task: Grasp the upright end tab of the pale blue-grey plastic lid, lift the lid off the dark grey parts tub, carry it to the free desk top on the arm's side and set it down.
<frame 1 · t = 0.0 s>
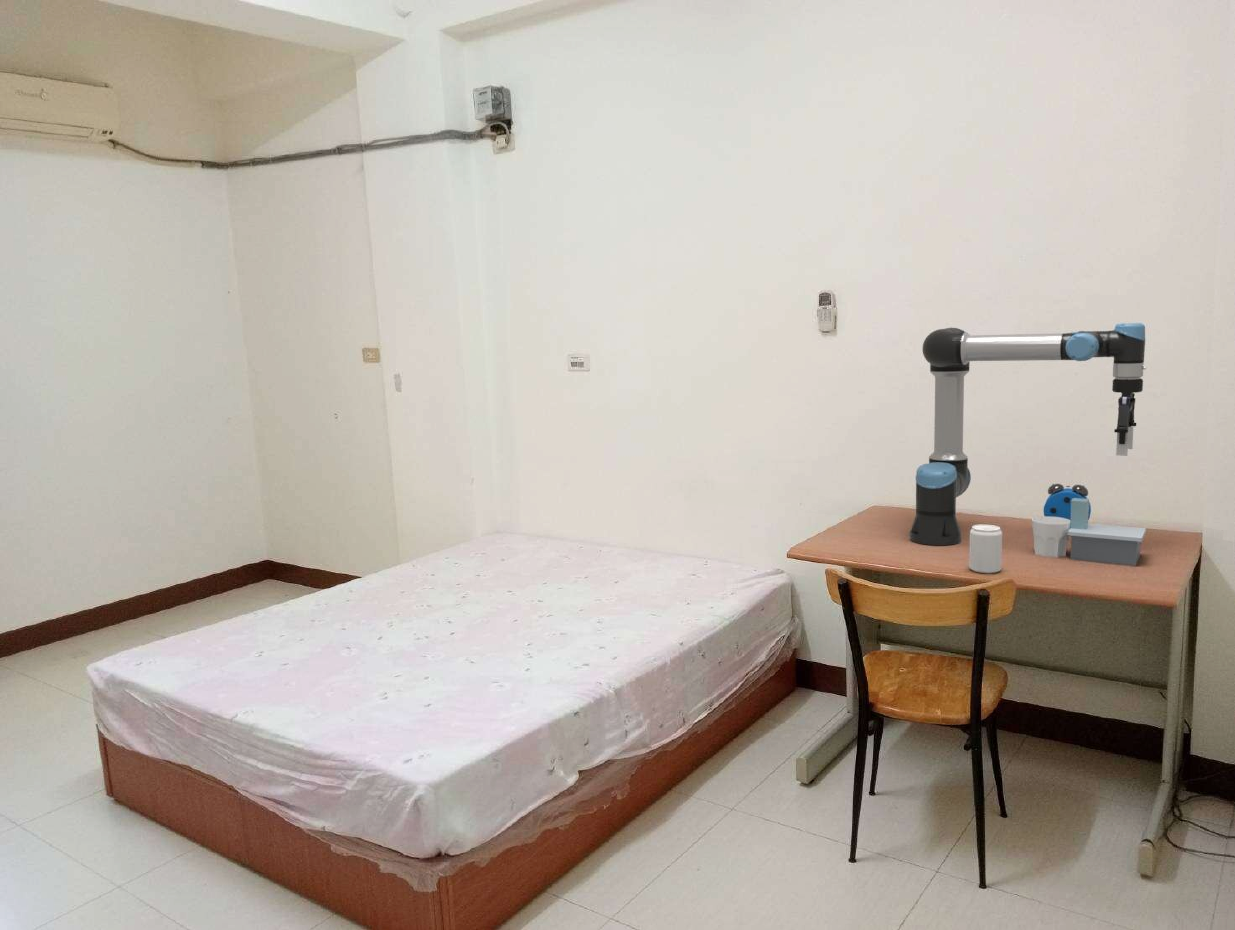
hand: (1124, 452, 260), 28 cm above the table, fingers open, 13 cm apart
alarm clock: (1066, 531, 285), on the table
cup: (1049, 554, 260), on the table
tub: (1105, 557, 254), on the table
lid: (1106, 533, 253), point 7 cm above the table, touching tub
beverage can: (985, 570, 247), on the table
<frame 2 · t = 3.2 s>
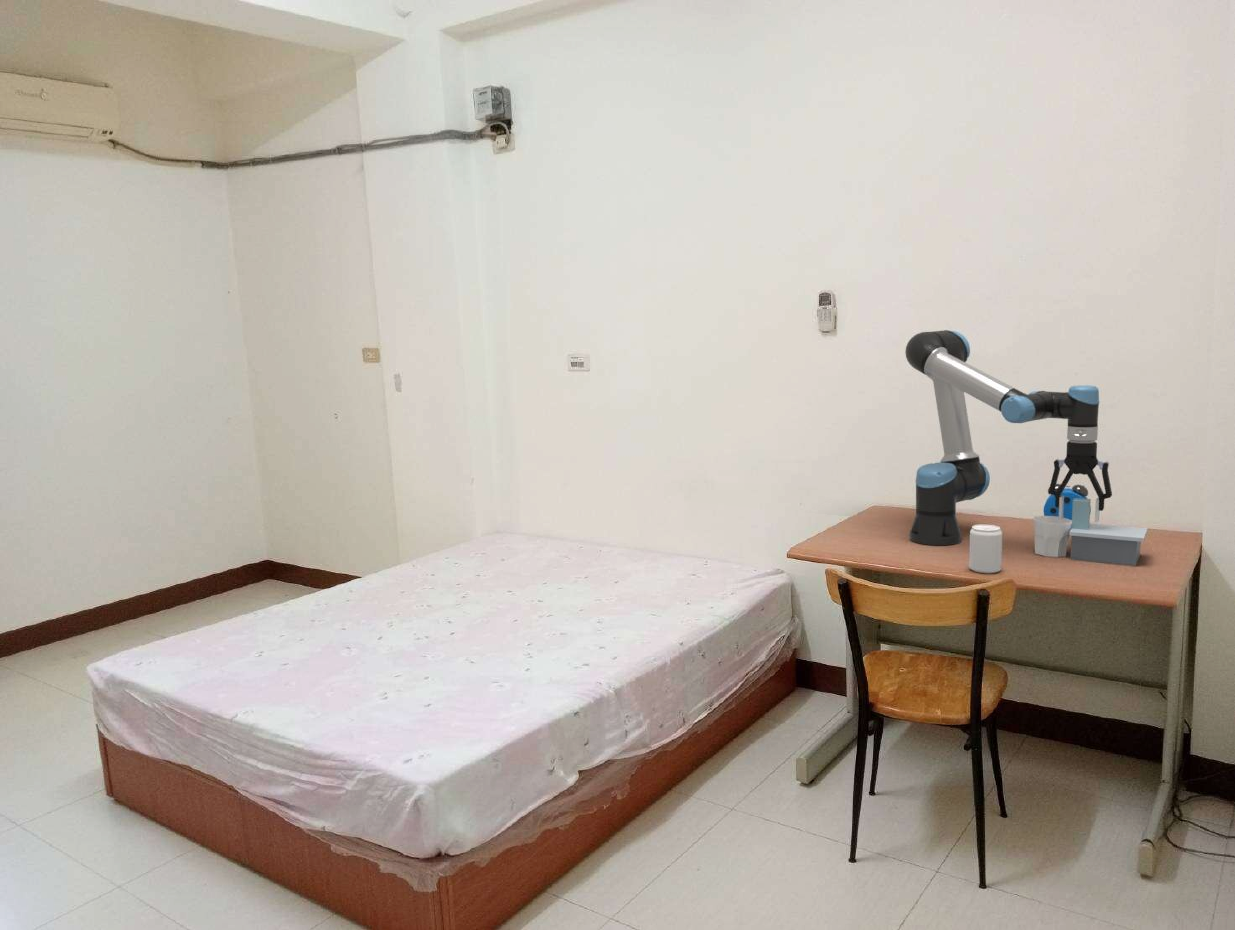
hand: (1078, 520, 256), 10 cm above the table, fingers open, 8 cm apart
cup: (1049, 554, 260), on the table, touching gripper, lid
lid: (1108, 533, 252), point 7 cm above the table, touching cup, tub
everything else where it was.
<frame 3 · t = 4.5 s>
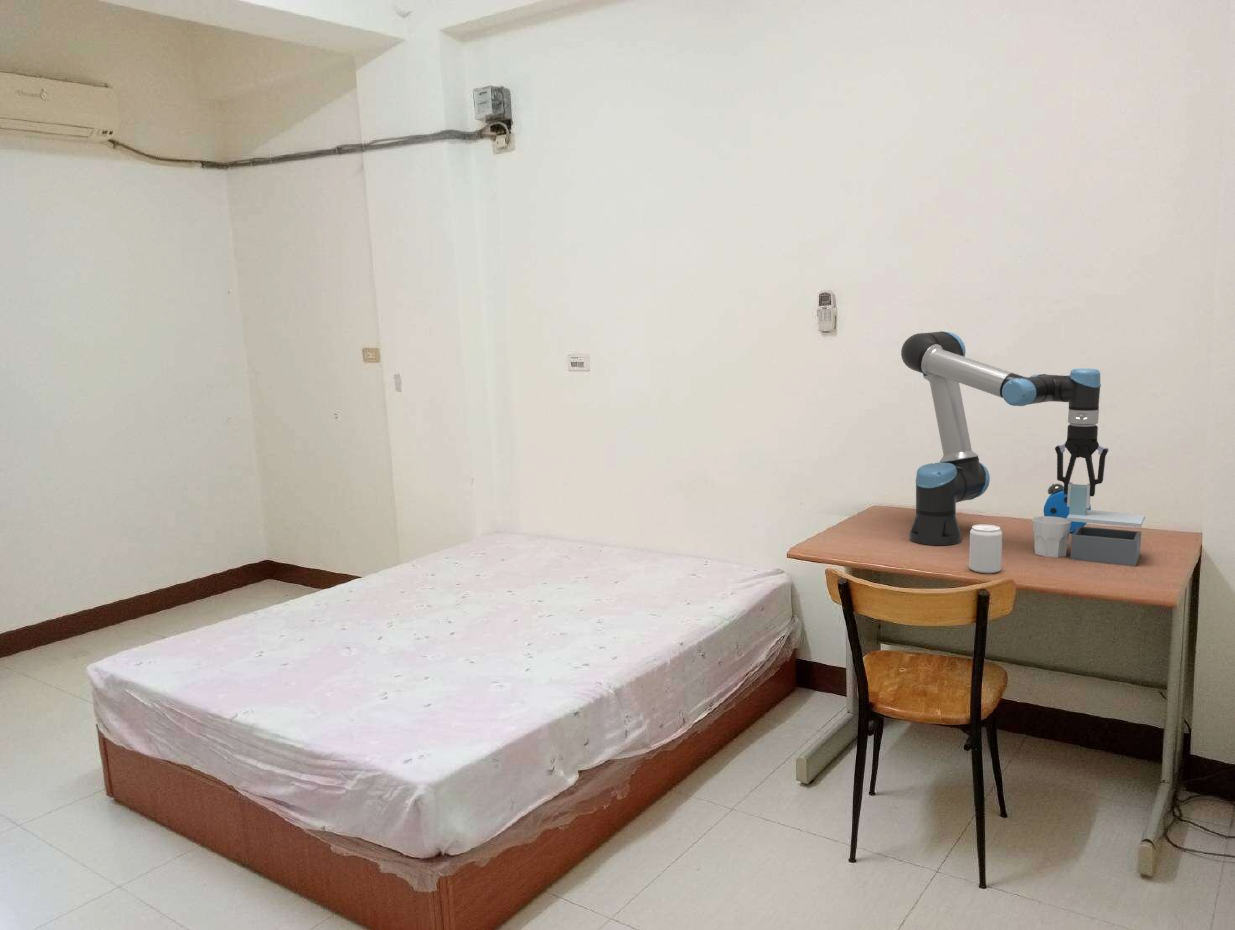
hand: (1078, 506, 256), 14 cm above the table, fingers closed on lid, 4 cm apart
cup: (1049, 554, 260), on the table
lid: (1105, 519, 252), point 11 cm above the table, touching gripper
everything else where it was.
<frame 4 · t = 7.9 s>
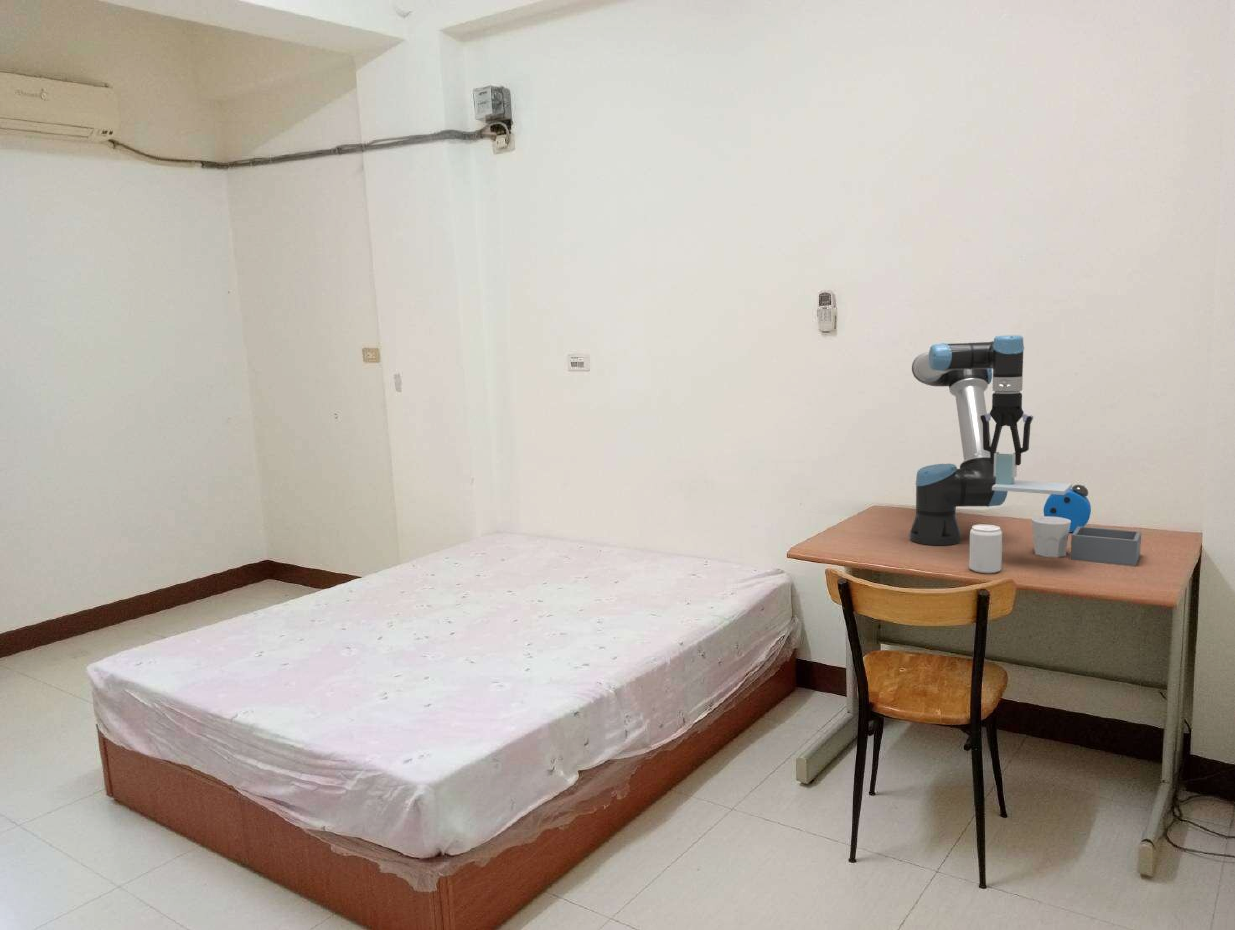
hand: (1005, 476, 251), 24 cm above the table, fingers closed on lid, 4 cm apart
lid: (1031, 488, 248), point 21 cm above the table, touching gripper
everything else where it was.
when the fingers open (4 cm above the table, at t = 11.4 s): lid drops 1 cm, on the table.
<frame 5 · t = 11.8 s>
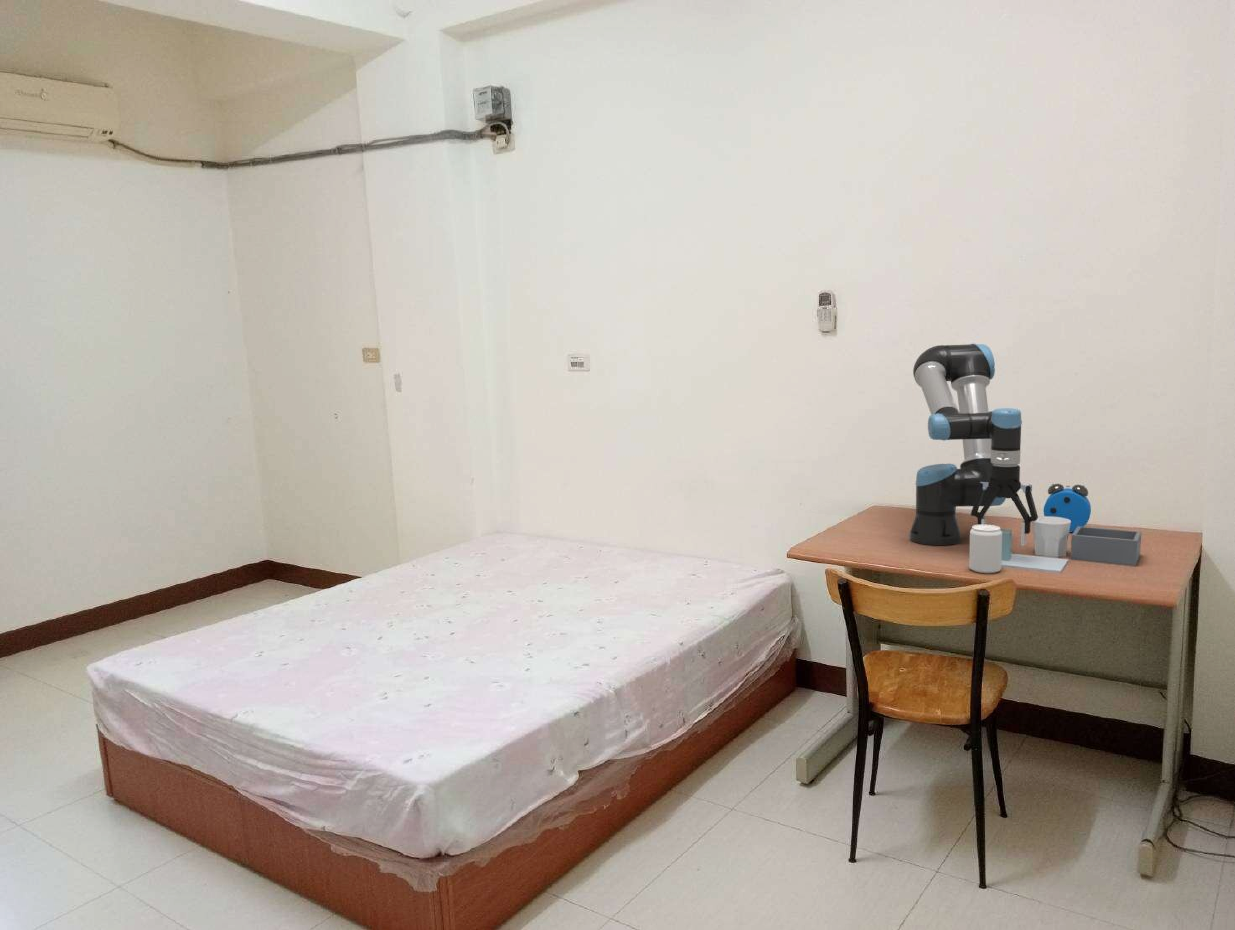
hand: (1003, 542, 254), 5 cm above the table, fingers open, 10 cm apart
lid: (1028, 564, 251), on the table
everything else where it was.
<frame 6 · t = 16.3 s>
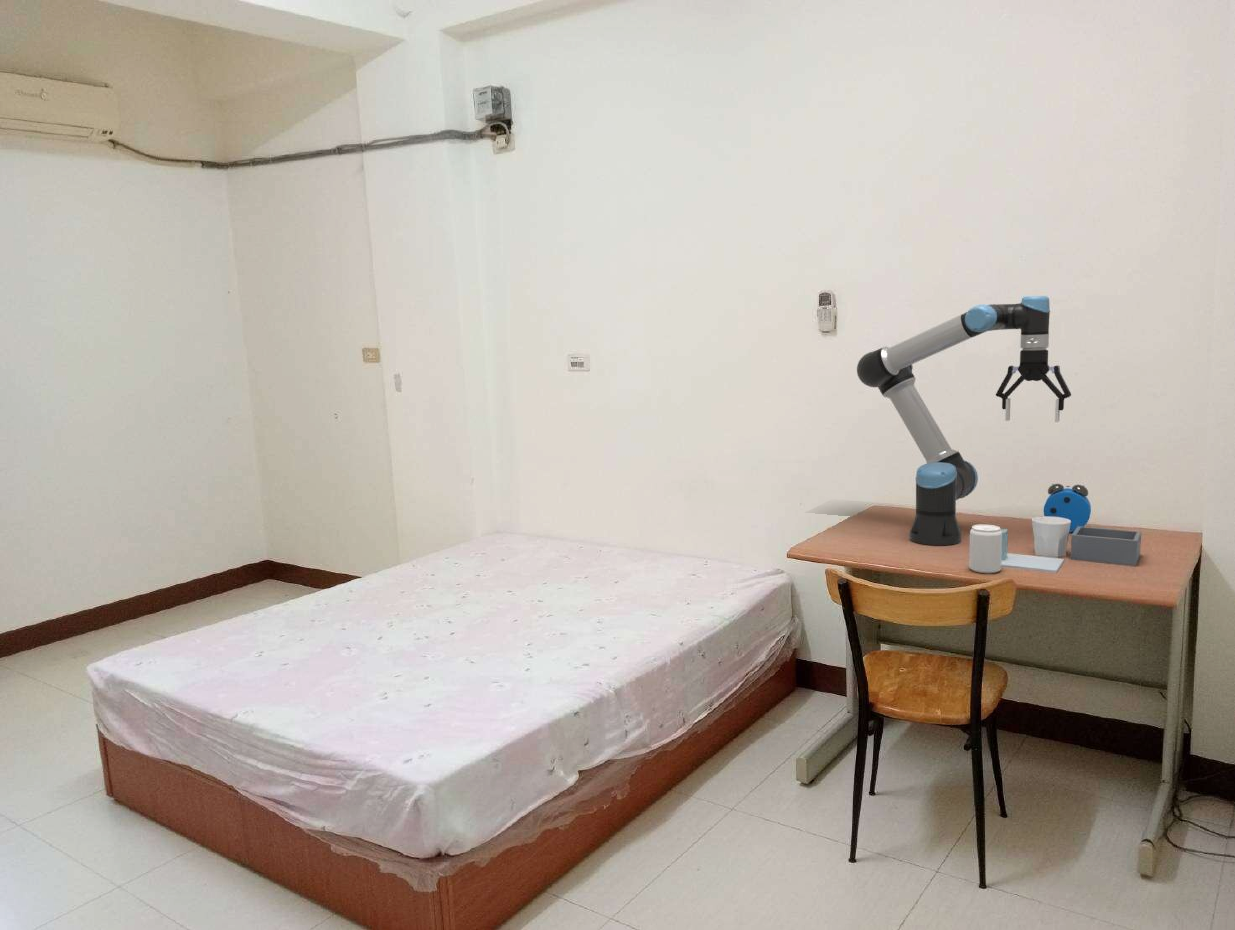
hand: (1032, 421, 269), 37 cm above the table, fingers open, 13 cm apart
lid: (1024, 564, 252), on the table
everything else where it was.
at the end: lid on the table; lid touching table; the gripper is holding nothing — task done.
